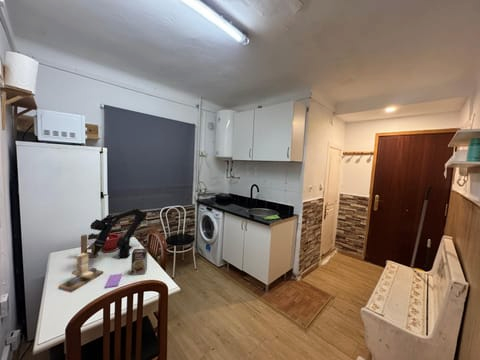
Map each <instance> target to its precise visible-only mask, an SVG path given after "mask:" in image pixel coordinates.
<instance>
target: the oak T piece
mask: <svg viewBox="0 0 480 360" xmlns="http://www.w3.org/2000/svg"><path fill="white" fill-rule="evenodd" d="M88 270H89V258H88V254H87V253H82V254H81V253H80V254H77V255H76V269H75V270H73V271H71V275H73V276H75V277H76V276H81V277H85V278H88V277H90V276H92V275H93V272H90V271H88Z"/></svg>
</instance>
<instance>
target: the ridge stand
mask: <svg viewBox="0 0 480 360" xmlns="http://www.w3.org/2000/svg"><path fill="white" fill-rule="evenodd" d="M88 271H90V272H93V275H92V276H90V277H88V278H85V277H81V276H76V275H75V276H74V277H73V278H70V279H68V280H67V281H65V282H64V283H61V284H60V285H58V290H63V291H67V292H69V293H73V292H75V291H76V290H78V289H80V288H81V287H83V286H85V285H87V284H88V283H89V282H91V281H93V280H95V279H97V278H98V277H100V276H102V275H103V274H104V271H103V270H99V269H97V268H95V267H91V268H88Z"/></svg>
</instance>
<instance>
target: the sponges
mask: <svg viewBox="0 0 480 360" xmlns="http://www.w3.org/2000/svg"><path fill="white" fill-rule="evenodd" d="M122 276H123V273H121V272H120V273H117V274H116V273H115V274H110V275H109V277H108V279H107V281H106V283H105V284H104V289H110V288H117V287H119V285H120V284H119V283H120V282H121V279H122Z"/></svg>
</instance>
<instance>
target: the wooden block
mask: <svg viewBox="0 0 480 360" xmlns="http://www.w3.org/2000/svg"><path fill="white" fill-rule="evenodd" d="M94 249H95V246H94V242H93V243H91V244H90V245H89V246H88V235H87V234H82V235H81V236H80V254H82V253H87V254H88V259H96V258H98V256H99V252H98V253H97V254H96V255H93V253H94ZM88 250H90V251H89V252H88Z"/></svg>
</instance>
